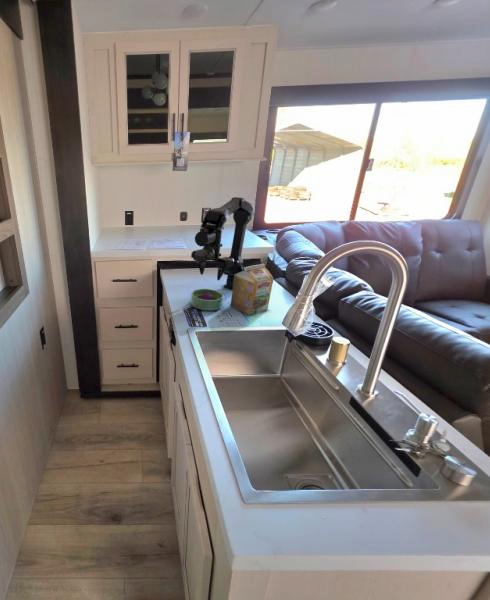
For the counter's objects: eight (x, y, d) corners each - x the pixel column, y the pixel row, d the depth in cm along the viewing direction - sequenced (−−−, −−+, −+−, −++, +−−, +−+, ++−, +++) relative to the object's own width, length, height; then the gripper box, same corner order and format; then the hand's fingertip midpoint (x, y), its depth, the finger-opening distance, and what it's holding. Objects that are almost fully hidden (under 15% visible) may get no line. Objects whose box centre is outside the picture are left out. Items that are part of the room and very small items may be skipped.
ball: (205, 300, 140) (206, 290, 138) (214, 304, 136) (215, 293, 134) (197, 303, 137) (198, 292, 135) (206, 307, 134) (207, 296, 132)
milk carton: (249, 315, 127) (256, 271, 120) (230, 305, 136) (236, 263, 128) (267, 310, 132) (275, 267, 124) (247, 301, 140) (254, 260, 133)
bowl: (205, 296, 145) (206, 286, 143) (228, 306, 135) (229, 295, 133) (184, 303, 138) (185, 293, 136) (207, 314, 128) (208, 303, 126)
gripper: (183, 240, 131) (181, 275, 138) (218, 249, 118) (214, 288, 124) (201, 236, 137) (198, 270, 144) (237, 244, 123) (232, 281, 130)
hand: (209, 277), depth 135 cm, fingers open, 9 cm apart
